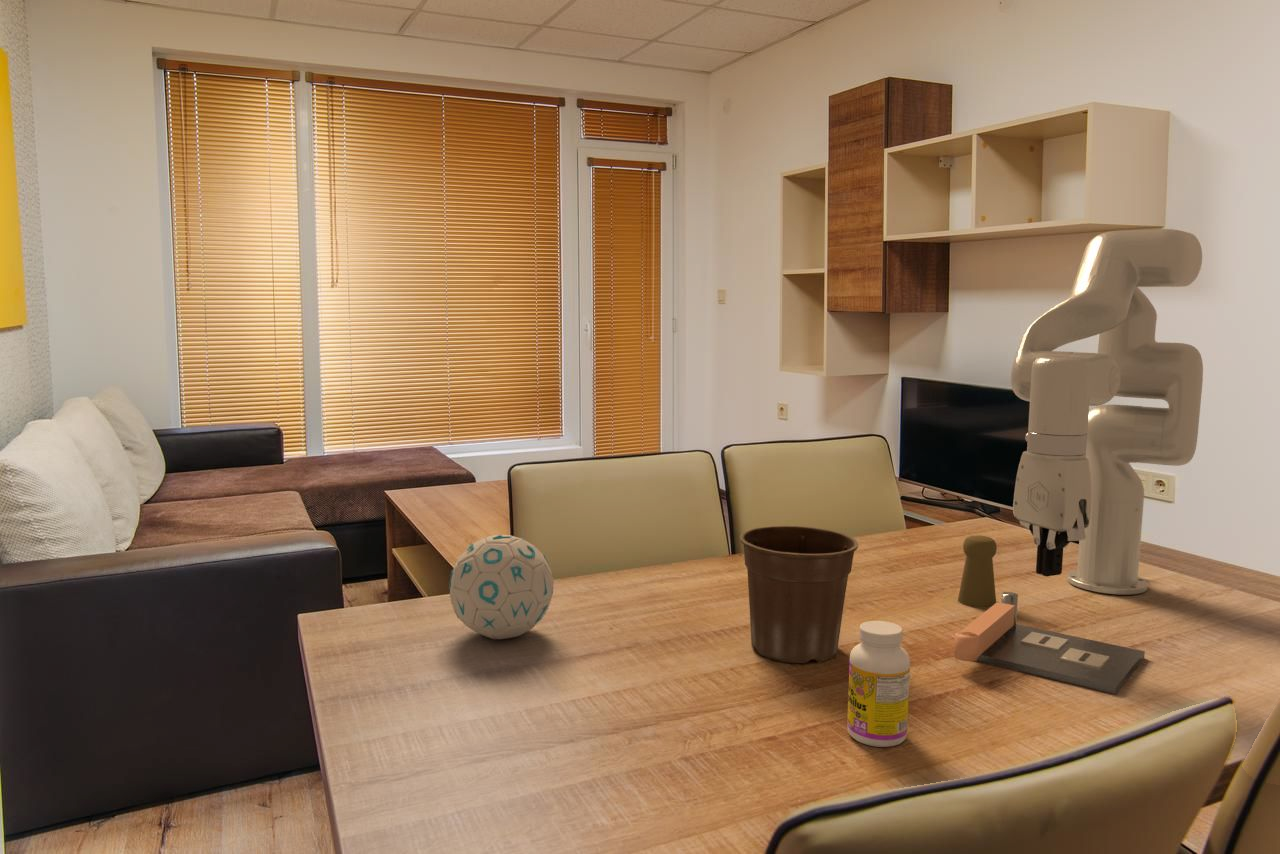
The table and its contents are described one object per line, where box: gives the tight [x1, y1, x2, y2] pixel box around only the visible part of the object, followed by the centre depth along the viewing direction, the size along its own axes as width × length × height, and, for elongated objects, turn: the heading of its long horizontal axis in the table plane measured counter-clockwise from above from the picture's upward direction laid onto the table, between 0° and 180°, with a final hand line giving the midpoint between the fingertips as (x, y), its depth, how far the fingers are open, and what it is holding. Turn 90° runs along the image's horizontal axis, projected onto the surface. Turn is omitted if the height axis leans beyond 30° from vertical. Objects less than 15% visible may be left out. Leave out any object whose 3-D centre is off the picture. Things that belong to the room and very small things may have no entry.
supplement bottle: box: [846, 620, 911, 748], centre depth 107 cm, size 7×7×13 cm
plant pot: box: [739, 525, 859, 664], centre depth 134 cm, size 16×16×16 cm
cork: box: [957, 534, 998, 609], centre depth 156 cm, size 6×6×11 cm
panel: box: [975, 591, 1146, 695], centre depth 131 cm, size 16×20×6 cm
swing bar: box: [953, 601, 1015, 662], centre depth 132 cm, size 18×3×3 cm, turn 142°
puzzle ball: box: [448, 534, 554, 640], centre depth 139 cm, size 15×15×15 cm
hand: (1048, 573), depth 134 cm, fingers closed
